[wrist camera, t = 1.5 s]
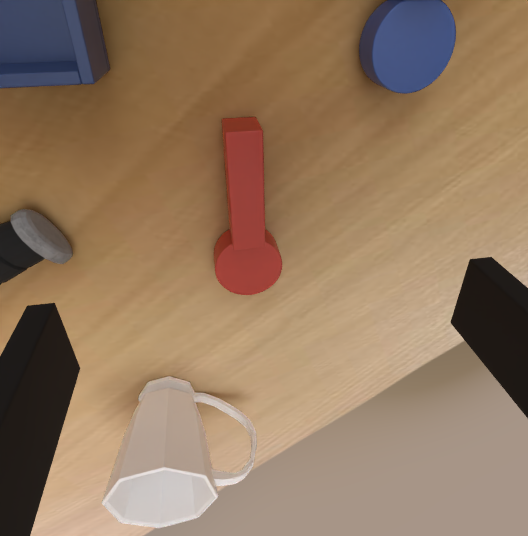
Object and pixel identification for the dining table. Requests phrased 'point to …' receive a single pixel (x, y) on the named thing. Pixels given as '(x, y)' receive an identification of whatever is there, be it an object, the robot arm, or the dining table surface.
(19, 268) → the knife
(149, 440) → the cup
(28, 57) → the blue bin
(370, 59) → the blue spoon
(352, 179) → the dining table surface
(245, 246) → the red spoon
